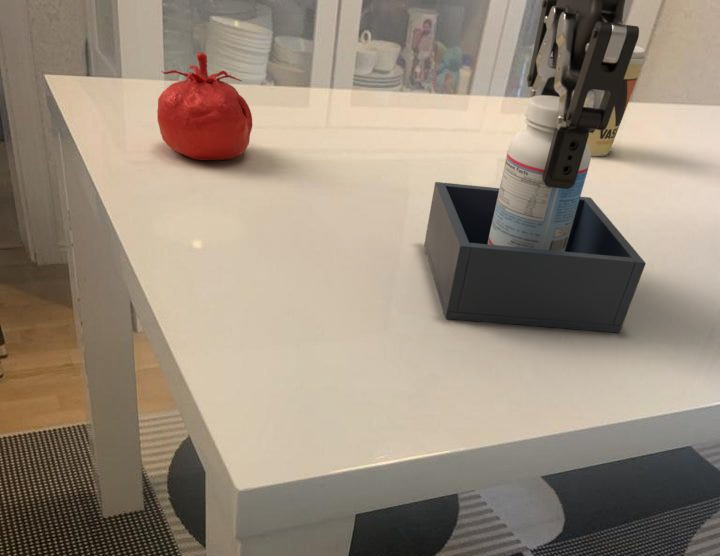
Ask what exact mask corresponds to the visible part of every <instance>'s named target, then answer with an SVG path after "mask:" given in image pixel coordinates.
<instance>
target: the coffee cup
mask: <svg viewBox="0 0 720 556" xmlns="http://www.w3.org/2000/svg"><path fill="white" fill-rule="evenodd" d="M646 59H647V58H646V49H644V48H643V47H641V46H638V45H636V46H635V49H634V52H633V54H632V57H631V60H630V63H629V66H628V69H627V71H626V74H625V77H624V80H623V83H622V86H621V89H620V91H619V94H618V97H617V100H616V103H615V106H614V108H613V111H612V114H611V117H610V120H609V123H608V125H607V127H606V129H605V130H597V129H596V130H595V132H594V133H589V137H588V140H587V144H588V146H589V148H590V151H591V157H604V156H607V155H609V153H610V152H611V149H612V146H613V144H614V141H615V139H616V136H617V133H618V131H619V129H620V126H621V123H622V120H623V118H624V115H625V112H626V110H627V107H628V105H629V103H630V99H631V97H632V94H633V91H634V89H635V86H636V84H637V81H638V78H639V76H640V73H641V70H642V67H643V65H644V64H645V62H646ZM603 95H604V94H602V96H601V101H602V98H603ZM572 97H573V96H572ZM587 102H588V99H587V97H586V100H585V103H586V104H587ZM600 104H601V103H600Z"/></svg>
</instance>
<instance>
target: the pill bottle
mask: <svg viewBox="0 0 720 556" xmlns="http://www.w3.org/2000/svg"><path fill="white" fill-rule="evenodd" d="M559 99H560V97H557V96H546V95H542V96H534V97H531V96H530V98H529V99H528V102H527V106H526V107H527V108H526V112H525V115H524V116H525V120H524V123H525V124H526V129H524V130H521V131H518V132H517V133H516V134H515V135H514V136H513V137H512V138H511V140H510V142H509V144H508V148H507V149H508V150H507V152H506V156H505V162H504V166H503V171H502V176H501V179H500V184H499V187H498V188H499V193H498V198H497V202H496V207H495V211H494V216H493V220H492V225H491V229H490V234H489V239H488V244H489V245H499V246H510V247H521V248H532V249H543V250H553V251H564V252H565V249H566V245H567V242H568V238H569V235H570V231H571V228H572V224H573V220H574V217H575V214H576V210H577V206H578V203H579V199H580V197H582V196H581V195H582V193H583V189H584V186H585V182H586V178H587V175H588V171H589V167H590V163H591V160H592V156H591V151H590V148H589V146H588V144H587V143H586V147H585V150H584V154H583V157H582V161H581V164H580V168H579V171H578V174H577V178H576V181H575V184H574V186H573V187H571V188H569V189H562V188H552V187H548V186H546V184H545V183H544V182H543V179H542V177H543V173H544V169H545V165H546V162H547V158H548V154H549V150H550V146H551V142H552V139H553V135H554V131H555V128H557V127H556V119H557V115H558V107H559ZM583 107H587V104H586V103H584V106H583Z"/></svg>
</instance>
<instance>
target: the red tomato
mask: <svg viewBox="0 0 720 556" xmlns="http://www.w3.org/2000/svg"><path fill="white" fill-rule="evenodd" d="M196 60H197V61H198V66H197V65H194V64H193V65H191V64H189V65H188V67H189V69H191V70H193V71H194V72H189V73H186V72H183V71H182V72H181V71H178V70H176V69H172V70H168V71H162V70H161V73H163V74H164V75H169V74H178V75H181V76H184V77H186V79H185V80H180V81H176V82H172V83H171V84H169V86H167V87H166V89H164V90H163V91H162V92H161V94H160V95H159V97H158V99H157V113H156V114H157V118H156V119H157V124H158V127H159V132H160V135H161V139H162V140H163V142H164V143H165V144H166V145H167V147H169V148H170V149H171V150H173V151H174V152H176V153H179V154H180V155H181V154H182V155H183V156H186V157H188V158H190V159H194V160H199V161H222V160H229V159H233V158H234V159H235V158H237V157H238V156H239V155H242V154H243V153H244V152H245V151H246V150H247V148H248V147H249V145H250V139H251V132H252V129H253V115H252V111H251V109H250V106H249V104H248V103H247V101H246V99H245V98H244V97H243V95H240V93H239V91H238V90H237V89H236V88H235V87H234V86H233V85H231V84H229V83H228V82H226V81H223V80H222V79H225V78H229V79H233V80H236V81H239V82H242V79H239V78H237V77H235V76H232V74H228V72H227V71H225V70H220V71H219V72H216V73H212V74H210V75H208V56H207V54H206V53H204V52H203V51H200V52H197V53H196ZM222 75H223V76H222Z"/></svg>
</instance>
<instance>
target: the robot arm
mask: <svg viewBox="0 0 720 556" xmlns="http://www.w3.org/2000/svg"><path fill="white" fill-rule="evenodd" d="M625 4H626V0H542V2H541V10H540V16H539V20H538V27H537V30H536V31H537V32H536V34H535V35H536V36H535V41H534V46H533V52H532V56H531V61H530V66H529V71H528V74H527V77H526V81H527V87H528V88H531V89H530V93H529V95H530V98H531V97H534V96H542V95H546V96H557V97H560V99H559V107H558V115H557V119H556V127H557V128H555V131H554V135H553V139H552V142H551V146H550V150H549V154H548V158H547V162H546V165H545V169H544V173H543V177H542V179H543V182H544V183H545V184H546V186H548V187H552V188H562V189H569V188H571V187H573V186H574V184H575V181H576V178H577V174H578V171H579V168H580V164H581V161H582V157H583V154H584V150H585V147H586V143H587V140H588V137H589V133H594V132H595V130H596V129H597V130H605V129H606V127H607V125H608V123H609V120H610V117H611V114H612V111H613V108H614V106H615V103H616V100H617V97H618V94H619V91H620V89H621V86H622V83H623V80H624V77H625V74H626V71H627V69H628V66H629V63H630V60H631V57H632V54H633V52H634V49H635V46H637V42H638V40H639V36H640V28H639V26H638V25H631V24H624V23H623V22H624V21H623V18H624V10H625ZM602 94H604V95H603V98H602V101H601V96H602ZM572 96H573V97H572ZM586 97H587V99H588V102H587V107H583V106H584V103H585V100H586ZM600 103H601V104H600Z"/></svg>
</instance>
